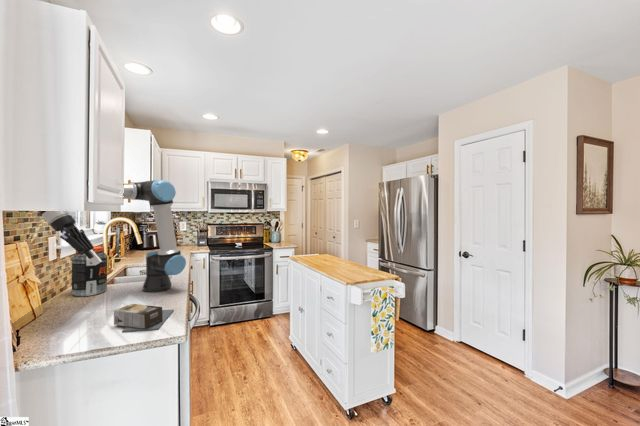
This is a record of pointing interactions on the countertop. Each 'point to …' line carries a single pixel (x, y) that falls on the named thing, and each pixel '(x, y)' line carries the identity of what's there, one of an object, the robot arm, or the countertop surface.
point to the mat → (155, 327)
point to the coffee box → (138, 316)
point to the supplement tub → (89, 274)
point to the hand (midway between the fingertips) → (98, 263)
